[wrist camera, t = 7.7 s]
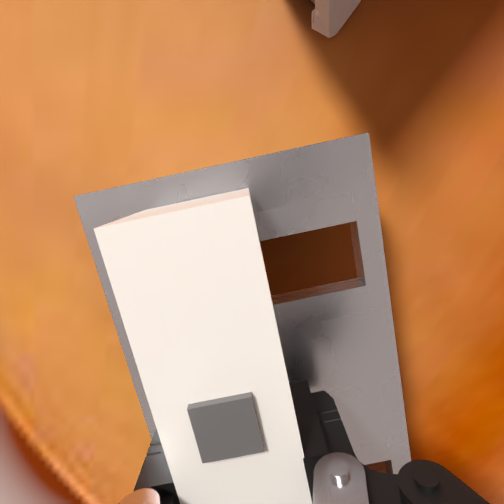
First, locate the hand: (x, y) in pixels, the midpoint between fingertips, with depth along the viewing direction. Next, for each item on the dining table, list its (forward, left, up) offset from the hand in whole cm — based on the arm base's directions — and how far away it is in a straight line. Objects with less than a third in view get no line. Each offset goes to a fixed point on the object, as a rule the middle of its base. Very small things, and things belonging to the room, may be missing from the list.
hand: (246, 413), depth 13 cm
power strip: (0, 0, -4) cm, 4 cm away
